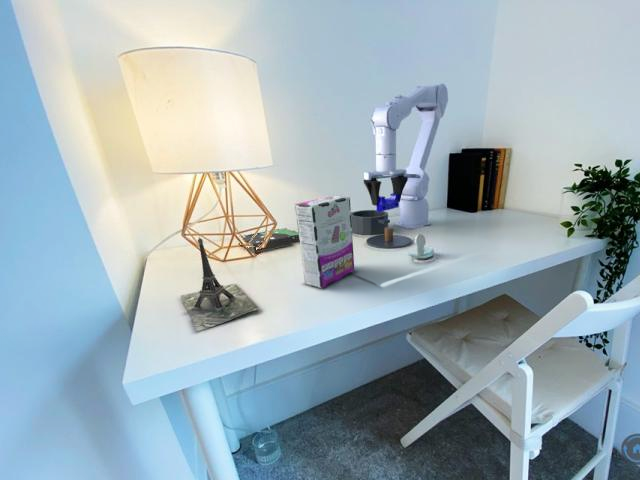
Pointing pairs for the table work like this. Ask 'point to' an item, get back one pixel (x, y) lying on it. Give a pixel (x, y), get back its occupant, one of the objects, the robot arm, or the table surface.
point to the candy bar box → (325, 239)
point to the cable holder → (388, 202)
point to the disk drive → (272, 239)
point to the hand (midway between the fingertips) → (386, 203)
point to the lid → (388, 240)
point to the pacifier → (422, 250)
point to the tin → (369, 222)
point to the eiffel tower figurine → (215, 299)
